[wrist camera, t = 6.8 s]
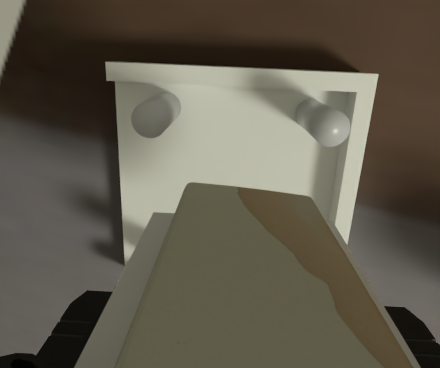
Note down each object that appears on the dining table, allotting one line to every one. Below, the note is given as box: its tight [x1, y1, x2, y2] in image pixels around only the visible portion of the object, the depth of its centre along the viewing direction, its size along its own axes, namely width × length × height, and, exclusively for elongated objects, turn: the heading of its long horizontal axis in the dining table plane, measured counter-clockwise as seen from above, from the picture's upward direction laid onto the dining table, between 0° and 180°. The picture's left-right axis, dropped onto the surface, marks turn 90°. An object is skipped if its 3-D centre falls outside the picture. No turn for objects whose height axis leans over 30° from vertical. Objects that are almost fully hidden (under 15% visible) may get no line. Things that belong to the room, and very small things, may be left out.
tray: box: [105, 62, 378, 279], centre depth 17 cm, size 12×12×5 cm
